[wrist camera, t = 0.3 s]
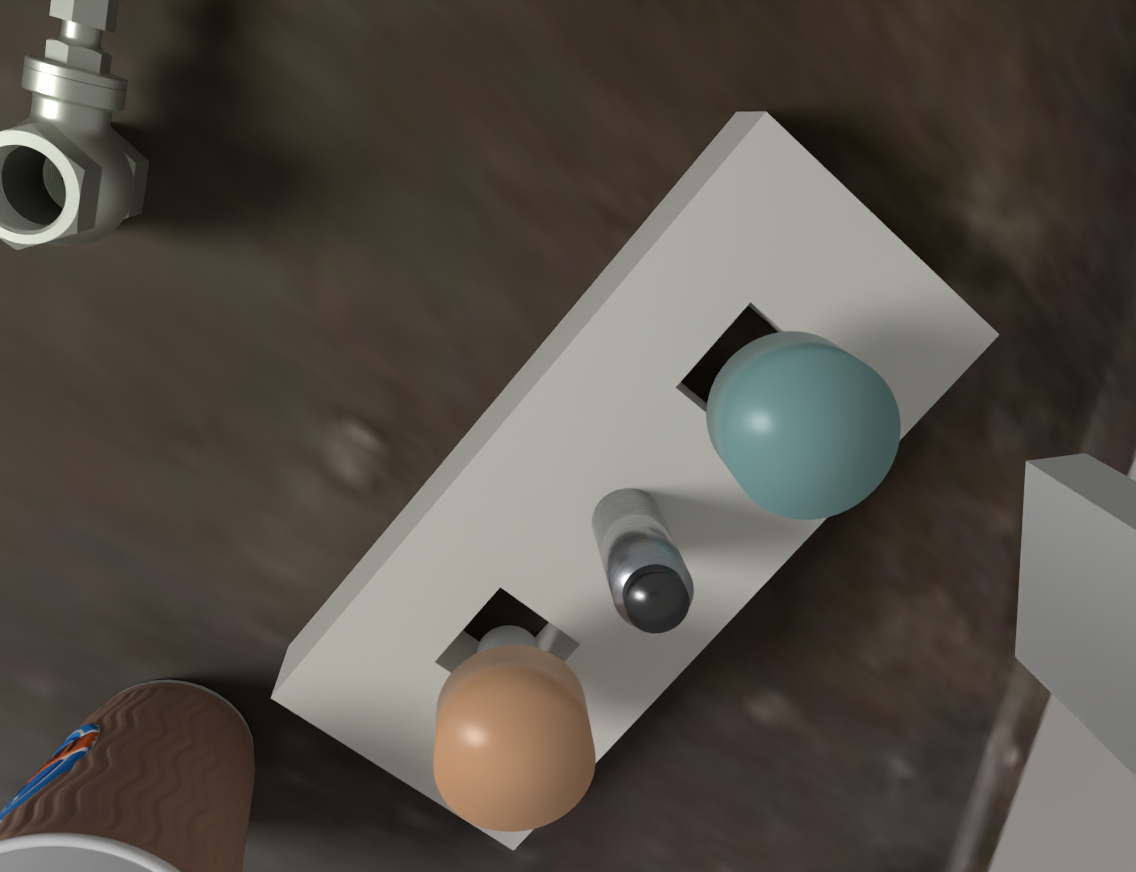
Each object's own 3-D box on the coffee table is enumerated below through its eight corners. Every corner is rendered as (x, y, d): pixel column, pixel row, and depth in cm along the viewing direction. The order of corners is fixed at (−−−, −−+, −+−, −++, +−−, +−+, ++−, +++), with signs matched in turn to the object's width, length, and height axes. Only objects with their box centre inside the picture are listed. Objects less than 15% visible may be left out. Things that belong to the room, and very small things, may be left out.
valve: (184, 255, 37) (238, -92, 34) (126, 283, 31) (185, -138, 28) (-4, 209, 36) (33, -153, 33) (-103, 229, 30) (-69, -215, 27)
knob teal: (652, 390, 36) (692, 451, 30) (749, 278, 35) (814, 316, 29) (755, 474, 38) (816, 551, 31) (851, 368, 37) (935, 425, 30)
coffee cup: (96, 604, 41) (-48, 793, 30) (333, 695, 43) (283, 902, 32) (13, 800, 43) (-150, 1044, 32) (241, 876, 46) (164, 1130, 34)
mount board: (288, 645, 42) (270, 697, 39) (736, 111, 37) (766, 111, 34) (510, 789, 46) (513, 850, 42) (950, 314, 41) (999, 334, 37)
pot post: (577, 526, 38) (599, 611, 31) (623, 474, 37) (654, 550, 31) (629, 565, 38) (661, 656, 32) (674, 515, 38) (716, 597, 31)
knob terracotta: (412, 664, 39) (400, 778, 32) (497, 566, 38) (503, 663, 31) (517, 734, 40) (526, 857, 33) (602, 642, 39) (628, 749, 32)
